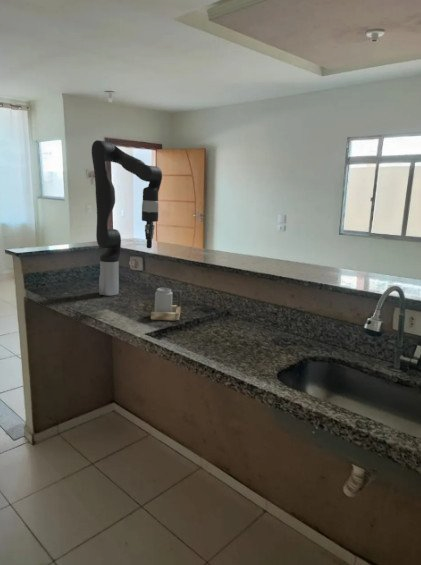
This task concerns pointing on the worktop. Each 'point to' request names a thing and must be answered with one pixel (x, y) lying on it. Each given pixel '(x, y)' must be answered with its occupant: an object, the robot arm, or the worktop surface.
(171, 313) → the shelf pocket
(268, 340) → the worktop surface
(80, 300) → the worktop surface
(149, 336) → the worktop surface
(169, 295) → the can
